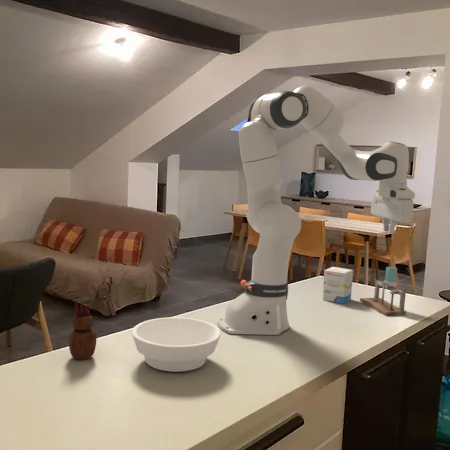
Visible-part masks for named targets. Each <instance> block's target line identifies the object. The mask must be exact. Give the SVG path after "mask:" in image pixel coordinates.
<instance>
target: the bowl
mask: <svg viewBox="0 0 450 450" xmlns="http://www.w3.org/2000/svg"><path fill="white" fill-rule="evenodd" d="M131 330H132V331H131V333H132V339H133V341H134V345H135V347H136V350H137V351H138V352H139V353H140V354H141V355H143V357H144V360H145V362H146V364H147V365H148V366H150V367H152V368H154V369H156V370H159V371H166V372H173V373H174V372H176V373H177V372H188V371H192V370H196V369H199V368H201V367H202V366H204V364H206V361H207V359H208V357H209V356H211V355H213V353H214V352H215V351H216V347H217V345H218V344H219V340H220V338H221V335H222V331H221V328H220V327H219V326H216V324H213V323H211V322H208V321H205V320H201V319H197V318H196V319H195V318H191V317H177V316H175V317H174V316H173V317H172V316H171V317H160V318H153V319H148V320H144V321H143V322H140V323H138V324H136V325H135V326H133V328H132V329H131Z"/></svg>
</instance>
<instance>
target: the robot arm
mask: <svg viewBox="0 0 450 450" xmlns="http://www.w3.org/2000/svg"><path fill="white" fill-rule="evenodd" d="M344 118H345V117H344V115H343V113H342V111H341V110H340V109H339V108H338V106H336V105H335V104H334V103H333V101H331V100H330V99H328V97H326V96H325V95H324V94H323V93H322V92H320V91H318V90H317V89H315V88H314V87H313V86H310V85H305V84H304V85H300V86H298V87H297V88H295V89H294V90H293V91H291V90H282V91H272V92H268V93H266V94H262V95H259V96H257V97H256V98H255V99H254V100H252V102H251V103H250V106H249V109H248V117H247V121H246V123H244V124H243V125H242V126H241V127H240V128H239V132H238V141H239V143H238V144H239V145H238V146H239V152H240V158H241V160H240V161H241V163H242V168H243V173H244V178H245V183H246V189H247V191H246V193H247V211H246V220H247V222H248V224H249V225H250V227H251V228H252V230H253V231H255V232H256V233H258V234H259V240H258V242H257V247H256V249H255V251H254V253H253V255H252V262H251V263H252V265H251V279H250V280H249V281H247V280H246V279H242V280H241V281H240V286H242V287H243V288H244V292H243V293H241V294H240V295H238V296H237V297H236V298H234V299H233V300H231V301H230V302H229V303H228V304H227V305H226V309H225V313H224V316H220V317H219V318H217V323H216V324H217V327H218V328H219V329H220V330H222V331H223V332H225V333H228V334H230V335H263V336H264V335H265V336H266V335H267V336H278V335H280V334H281V333H282V332H284V331H287V330H288V329H290V324H289V323H290V322H289V318H288V309H287V300H288V295H289V282H288V270H289V260H290V255H291V250H292V248H293V244H294V240H295V238H296V237H297V236H298V235H299V234H300V232H301V229H302V220H301V217H300V214H299V213H298V212H297V211H296V210H295V209H293V208H292V207H291V206H290V205H288V204H284V203H282V199H281V198H282V197H281V194H282V184H283V182H284V181H283V180H284V179H283V177H284V176H283V172H282V167H281V162H280V157H279V153H278V149H277V144H276V137H277V133H278V130H284V129H291V128H294V127H295V126H297V125H298V124H301V126H303V128H305V129H306V131H308V132H309V133H310V134H311V135H312V136H313V137H314V138H316V140H318V142H319V143H320V144H321V146H322V147H323V148H324V149H325V150H326V151H327V152H328V153H329V155H331V156H332V157H333V158H334V159H335V161H337V163H338V165H339V166H340V169H341V171H342V173H343V175H344V176H345V177H346V178H347V179H349V180H353V181H361V180H362V181H370V182H378V181H379V182H378V183H379V184H378V189H377V190H376V191H375V193H374V195H373V197H372V200H371V206H370V214H371V215H372V216H375V217H378V218H381V222H382V226H383V227H382V228H383V229H382V230H383V232H387V233H390V234H394V233H395V228H396V227H397V224H398V223H399V222H400V223H410V222H411V221H412V219H413V214H414V213H413V212H414V201H413V200H414V199H415V197H416V193H415V192H414V191H413V190H411V189H410V188H409V187H408V180H407V175H408V171H409V166H410V157H409V156H410V152H409V148H408V146H407V145H406V144H404V143H401V142H396V141H386V142H385V143H384V144H383V145H381V146H380V147H379V148H377V149H374V150H373V149H372V150H371V151H370V150H369V151H366V150H364V151H363V150H358V149H355V148H353V147H352V146H350V145H349V144H348V142H347V141H346V140H344V138H343V137H342V136H341V135H340V133H341V132H342V130H343V128H344V124H345V120H344Z"/></svg>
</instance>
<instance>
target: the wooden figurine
mask: <svg viewBox="0 0 450 450" xmlns="http://www.w3.org/2000/svg"><path fill="white" fill-rule="evenodd" d="M83 305H84V303H83V302H82V301H81V302H80V307H79V305H78V301H75V302H74V317H73V318H72V328H73V329H72V330H71V331H70V332H69V335H68V348H69V349H68V350H69V352H70V355H71V357H72V358H73V359H74V360H80V361H81V360H82V361H84V360H88V359H91V358H92V357H93V356H94V354H95V351H96V347H97V333H96V331H95V330H94V329H93V328H92V327H93V325H94V319H93V317H92V315H91V311H90V308H87V305H84V306H83Z"/></svg>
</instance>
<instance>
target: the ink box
mask: <svg viewBox="0 0 450 450" xmlns="http://www.w3.org/2000/svg"><path fill="white" fill-rule="evenodd" d="M323 272H324V273H323V285H322V286H323V288H322V289H323V290H322V300H323V301H328V302H332V303H337V304H338V303H339V304H343V305H345V304H347V302H350V301H351V300H352V292H353V291H352V289H353V277H354V269H349V268H343V267H338V266H337V267H336V266H331V267H329V268H327V269H324V270H323Z"/></svg>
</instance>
